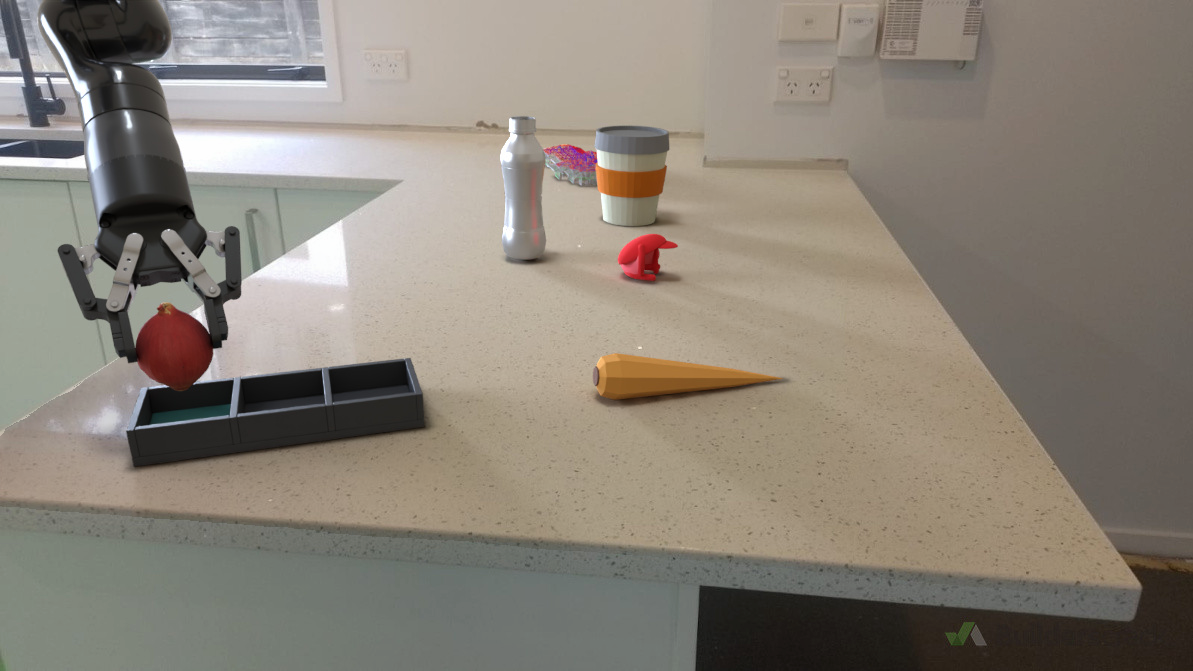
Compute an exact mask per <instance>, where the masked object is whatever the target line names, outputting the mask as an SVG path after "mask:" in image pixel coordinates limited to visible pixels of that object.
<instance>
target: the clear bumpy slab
mask: <svg viewBox="0 0 1193 671" xmlns="http://www.w3.org/2000/svg"><path fill="white" fill-rule="evenodd" d="M542 148H543V147H542ZM543 150H544V153H545V157H546V158H545V167H547V168H548V169H550V170H552V171H553V172H554V176H555V177H556V178H557V179H558V180H559V181H570V183H571V184H573V185H577V184H578V185H580V186H581V187H585V186H589V185H590V183H594V186H597V174H596V163H597V162H598V160H597V151H594V150H584V149H583V148H581V147H580V146H575V145H573V144H569V143H567V144H565V143H563V144H559V145H558V144H557V145H556V146H555V145H553V146H551V147H550V146H548V147H544V148H543ZM585 183H586V184H585ZM584 184H585V185H584Z"/></svg>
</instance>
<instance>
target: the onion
mask: <svg viewBox="0 0 1193 671" xmlns="http://www.w3.org/2000/svg"><path fill="white" fill-rule="evenodd" d="M156 310H157V312H156V313H155V314H153V315H152V316H150V318H149V319H147V321H145V322H144V323H143V325H142V326H141V328H139V329H140V330H139V331H138V333H137V336H136V340H135V350H136V355H137V360H138V362H136V363H137V365H138V368H139V369H140V370H141V371H142V372H143V373H144V374H145V375H146V376H147V377H148V378H149V379H151V380H153V381H154V382H156V383H158V384H161V385H167V386H169V387H171V388H172V389H174V390H176V391H184V390H187V389H188V388H189V387H190V386H191V385H193V384H194V383H195V382H198V381H199V380H200V378H202V377H203V376H204V374H205V373H206V372H207V371H208V370H209V368H210V365H211V363H212V360H213V356H214V349H213V347H212V343H211V338H210V334H209V330H208V328H206V327H205V326H204V325H203V323H201V321H200V320H199V319H197V318H196V317H194V316H193V315H191V314H190V313H188V312H186V311H183V310H180V309H178V308H177V307H176V306H175V305H174V304H172V303H171V302H167V301H165V302H164V301H163V302H161V303H160V304H159V305H158V307H156Z"/></svg>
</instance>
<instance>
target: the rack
mask: <svg viewBox="0 0 1193 671" xmlns="http://www.w3.org/2000/svg"><path fill="white" fill-rule="evenodd" d="M425 421H426V420H425V405H424V394H423V391H422V387H421V384H420V382H419V379H418V375H417V373H416V370H415V367H414V364H413V361H412V359H411V357H405V358H397V359H387V360H378V361H377V360H376V361H368V362H360V363H352V364H343V365H333V366H325V367H316V368H306V369H297V370H289V371H280V372H269V373H263V374H262V373H261V374H253V375H244V376H236V377H235V376H234V377H225V378H216V379H209V380H200V381H199V380H197V381H196V382H195V383H194V384H193V385H191V386H190V387H189V388H188V389H187V390H184V391H176V390H174V389H172V388H171V387H169V386H167V385H164V384H161V385H155V386H149V387H148V386H147V387H146V386H145V387H141V388H140V390H139V393H138V395H137V399H136V402H135V404H134V407H133V410H132V414H131V416H130V418H129V422H128V424H127V426H126V430H125V433H126V438H127V442H128V448H129V451H130V457H131V461H132V465H133V467H140V466H142V467H143V466H149V465H156V464H162V463H163V464H164V463H170V462H178V461H185V460H192V459H199V458H206V457H215V456H222V455H228V454H229V455H230V454H237V453H244V452H251V451H257V450H258V451H259V450H266V449H273V448H280V447H288V446H294V445H301V444H309V443H317V442H323V441H331V440H337V439H345V438H352V437H359V436H366V435H367V436H368V435H375V434H381V433H388V432H389V433H390V432H396V431H397V432H398V431H405V430H410V429H411V430H412V429H418V428H424V427H426V422H425Z"/></svg>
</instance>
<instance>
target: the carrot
mask: <svg viewBox="0 0 1193 671" xmlns="http://www.w3.org/2000/svg"><path fill="white" fill-rule="evenodd" d="M783 379H785V378H783V377H779V376H773V375H769V374H762V373H759V372H752V371H747V370H742V369H737V368H730V367H723V366H716V365H710V364H709V365H708V364H702V363H701V364H700V363H692V362H687V361H685V362H684V361H679V360H678V361H677V360H670V359H664V358H663V359H662V358H655V357H648V356H641V355H633V354H627V353H626V354H625V353H618V352H613V353H610V354H606V355H602V356H600V358H599V359H598V361H597V362H596V365H595V366H594V367H593V371H592V383H593V385H594V386H595V387H596V390H597V392H598V394H599V395H600V397H603V398H605V399H610V400H614V401H616V400H625V399H626V400H627V399H635V398H643V397H652V396H663V395H671V394H672V395H673V394H682V393H689V392H699V391H708V390H718V389H727V388H735V387H742V386H748V385H753V384H761V383H763V382H765V383H766V382H772V381H777V380H783Z"/></svg>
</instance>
